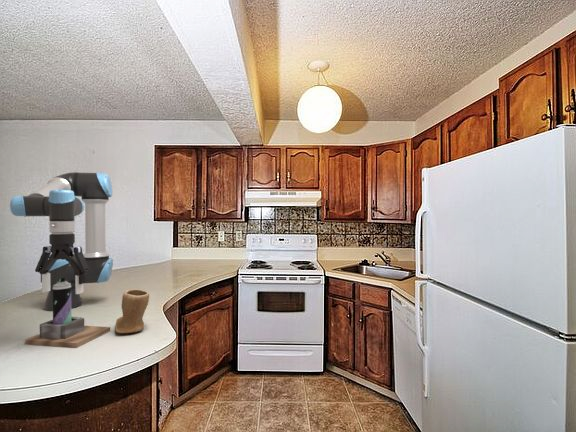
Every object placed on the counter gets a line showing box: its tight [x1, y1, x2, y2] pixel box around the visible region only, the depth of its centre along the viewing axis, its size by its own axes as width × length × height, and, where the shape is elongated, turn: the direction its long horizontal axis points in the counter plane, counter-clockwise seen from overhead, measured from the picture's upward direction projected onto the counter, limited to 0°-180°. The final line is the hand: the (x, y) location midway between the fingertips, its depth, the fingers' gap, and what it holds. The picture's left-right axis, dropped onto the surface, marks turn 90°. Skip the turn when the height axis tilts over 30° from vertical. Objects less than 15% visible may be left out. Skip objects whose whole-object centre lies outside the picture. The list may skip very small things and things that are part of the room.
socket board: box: [24, 316, 111, 349], centre depth 119 cm, size 20×16×6 cm
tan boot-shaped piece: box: [114, 288, 150, 334], centre depth 128 cm, size 15×12×15 cm
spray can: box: [52, 278, 72, 325], centre depth 118 cm, size 6×6×20 cm
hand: (62, 292), depth 118 cm, fingers open, 13 cm apart
